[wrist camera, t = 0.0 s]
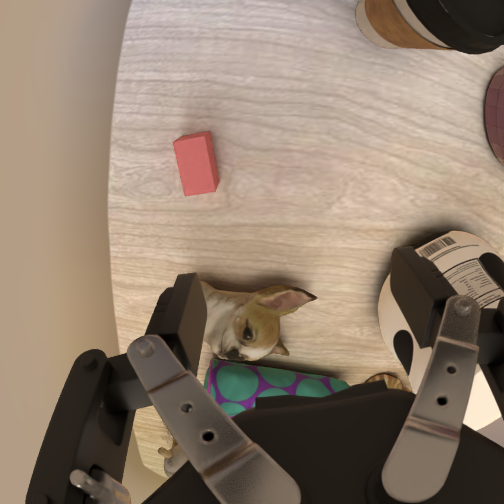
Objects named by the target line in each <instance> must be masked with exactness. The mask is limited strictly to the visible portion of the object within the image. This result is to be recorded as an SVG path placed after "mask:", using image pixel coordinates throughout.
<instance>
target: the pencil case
mask: <svg viewBox="0 0 504 504" xmlns="http://www.w3.org/2000/svg"><path fill="white" fill-rule="evenodd" d="M203 387H204V388H205V389H206V390H207V391H208V393H209V394H210V395H211V396H212V397H213V398H214V400H215V401H216V402H217V403H218V404H219V405H220V407H221V408H222V409H223V410H224V411H225V412H226V413H227V415H228V416H229V417H230V418H232V417H233V416H235V415H236V414H238V413H240V412H242V411H244V410H247V409H249V408H253V407H255V397H268V396H279V395H298V396H310V397H325V396H328V395H331V394H333V393H336V392H338V391H341V390H343V389H346V388H348V387H350V386H349V385H348V384H347V383H346V382H345V381H342V380H338V379H336V378H331V377H327V376H323V375H315V374H307V373H301V372H295V371H290V370H284V369H276V368H270V367H263V366H255V365H247V364H244V363H242V364H241V363H234V362H230V361H220V360H217V359H212V360H211V362H210V367H209V368H208V370H207V373H206V377H205V382H204V386H203Z"/></svg>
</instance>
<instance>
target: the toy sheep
mask: <svg viewBox="0 0 504 504" xmlns="http://www.w3.org/2000/svg"><path fill="white" fill-rule="evenodd" d="M158 453H159V454H160V455H162V456H164V457H165V459H164V471H165V473H166V475H167V476H168V477H169V478H170V477H171V476H172V475H173V474H174V473H175V472H176V471H177V470H178V469H179V468H180V467H182V466H183V465H184V464H185V463H186V462H187V461H188V460H189V459H188V458H187V457H186V455H185V454H184V452H183V451H182V449H181V448H180V446H179V445H178V443H177V442H176V440H175V439H173V445H172V448H171V449H170V450H169V451H168V450H166V449H165V448H163V447H161V448H159V449H158Z"/></svg>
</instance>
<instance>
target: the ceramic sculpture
mask: <svg viewBox="0 0 504 504" xmlns="http://www.w3.org/2000/svg"><path fill="white" fill-rule="evenodd" d="M200 283H201V287H202V290H203V294H204V297H205V301H206V304H207V321H206V327H205V332H204V338H203V343H202V344H205V345H208V346H210V347H211V349H212V351H213V352H214V353H215V354H217V355H218V357H219V358H221V359H229V360H241V361H244V360H249V361H255V360H258V359H260V358H262V357H264V356H266V355H268V354H272V353H277V354H281V355H289V354H290V353H289V351H288V350H287V349H286V348H285V346H284V345H283V343H282V341H281V340H280V338H279V333H280V320H279V317H280V316H281V315H286V314H289V313H292V312H294V311H296V310H297V309H298V308H299V307H301V306H302V305H304V304H306V303H307V302H310V301H313V300H316V299H317V297H316V296H314V295H313V294H311V293H309V292H307V291H305V290H303V289H301V288H298V287H293V286H290V285H275V286H271V287H267V288H264V289H262V290H258V291H255V292H253V293H246V292H232V291H220V290H216V289H214V288H213V287H211V286H210V285H209V284H207V283H206V282H204V281H200Z"/></svg>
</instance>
